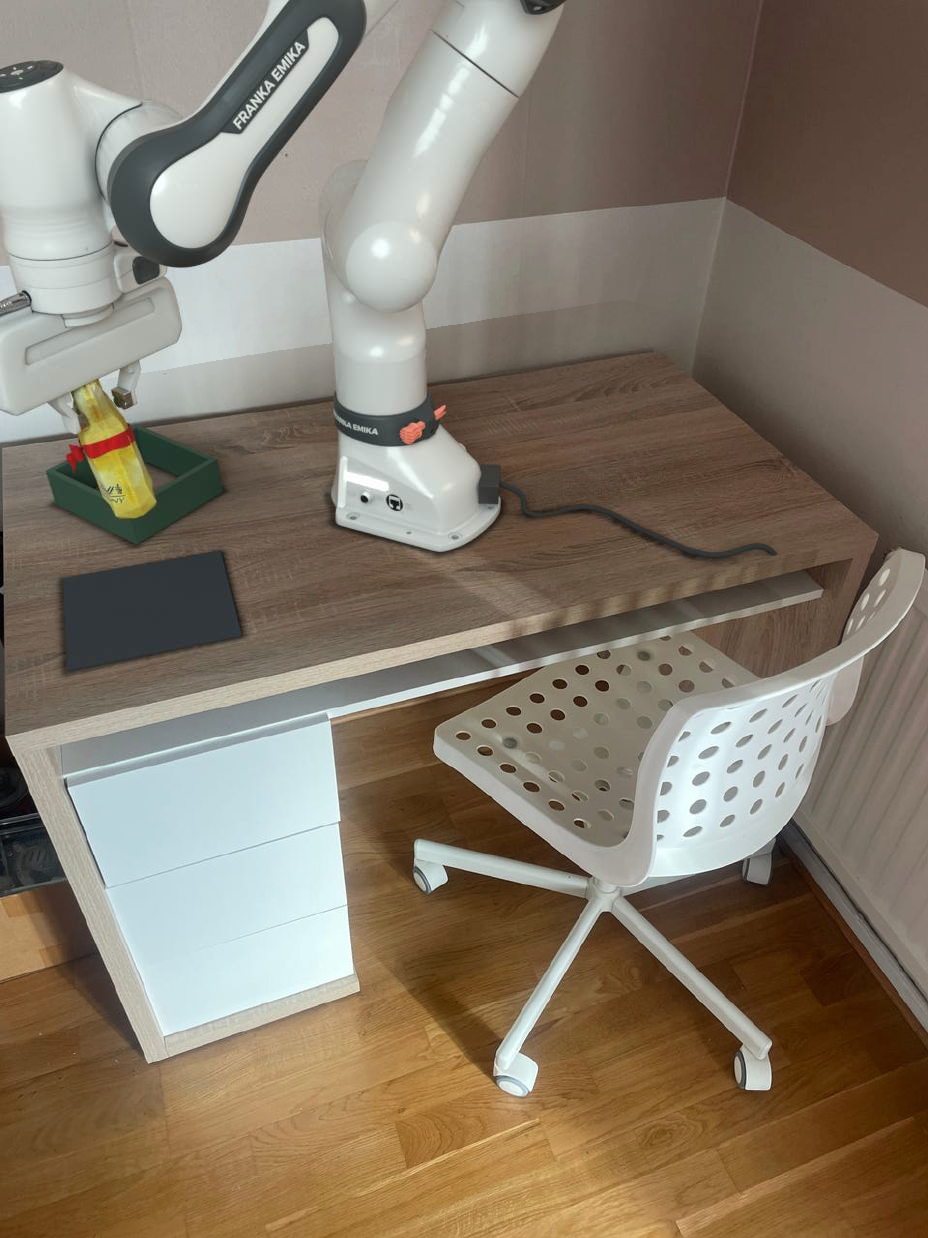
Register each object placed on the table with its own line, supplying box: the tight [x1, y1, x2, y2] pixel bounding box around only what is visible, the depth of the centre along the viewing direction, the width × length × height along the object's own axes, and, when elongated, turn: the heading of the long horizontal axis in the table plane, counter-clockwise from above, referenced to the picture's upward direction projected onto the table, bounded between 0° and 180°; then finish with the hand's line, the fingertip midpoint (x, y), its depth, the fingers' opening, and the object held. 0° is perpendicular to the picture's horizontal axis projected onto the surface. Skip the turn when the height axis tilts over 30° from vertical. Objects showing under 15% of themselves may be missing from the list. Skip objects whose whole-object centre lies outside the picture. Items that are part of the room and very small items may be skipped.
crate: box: [45, 423, 224, 545], centre depth 124 cm, size 15×15×5 cm
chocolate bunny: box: [65, 379, 157, 518], centre depth 95 cm, size 7×11×15 cm, turn 27°
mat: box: [62, 549, 243, 672], centre depth 109 cm, size 18×16×1 cm
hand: (102, 417), depth 94 cm, fingers closed on chocolate bunny, 4 cm apart
